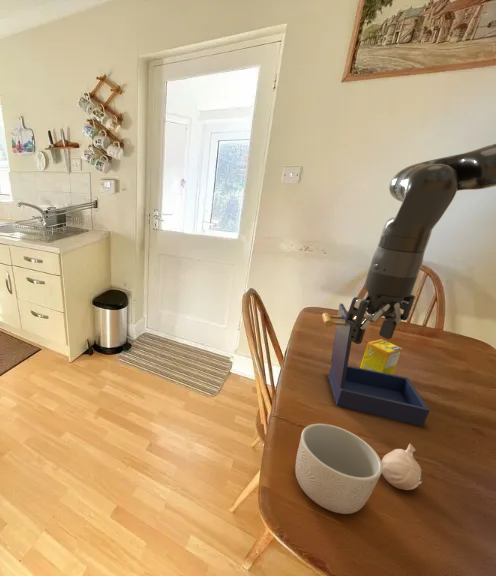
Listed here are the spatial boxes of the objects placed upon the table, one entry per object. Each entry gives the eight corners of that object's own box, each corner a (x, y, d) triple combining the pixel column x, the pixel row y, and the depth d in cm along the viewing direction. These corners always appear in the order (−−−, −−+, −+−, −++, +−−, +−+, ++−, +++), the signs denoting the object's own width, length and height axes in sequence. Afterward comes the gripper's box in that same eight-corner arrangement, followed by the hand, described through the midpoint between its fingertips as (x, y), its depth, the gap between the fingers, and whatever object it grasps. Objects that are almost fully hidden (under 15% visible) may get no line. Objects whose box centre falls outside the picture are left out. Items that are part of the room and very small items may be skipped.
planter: (287, 454, 69) (297, 416, 65) (354, 474, 65) (369, 434, 61) (294, 507, 59) (306, 465, 55) (374, 534, 54) (395, 490, 50)
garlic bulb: (425, 494, 61) (441, 464, 58) (397, 499, 60) (412, 469, 57) (392, 464, 67) (404, 436, 64) (366, 468, 66) (377, 440, 63)
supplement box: (370, 368, 98) (381, 338, 94) (391, 380, 93) (403, 348, 89) (357, 372, 96) (367, 341, 93) (377, 384, 91) (389, 352, 87)
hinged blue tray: (401, 393, 88) (408, 377, 86) (422, 427, 76) (429, 410, 74) (327, 377, 95) (332, 362, 93) (336, 406, 83) (341, 390, 81)
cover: (342, 303, 86) (320, 302, 89) (354, 324, 75) (328, 322, 77) (334, 361, 92) (313, 358, 94) (343, 389, 81) (320, 385, 83)
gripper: (385, 279, 58) (360, 353, 64) (441, 272, 61) (413, 344, 67) (347, 267, 65) (329, 335, 71) (400, 262, 68) (377, 327, 74)
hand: (370, 339), depth 69 cm, fingers open, 8 cm apart
